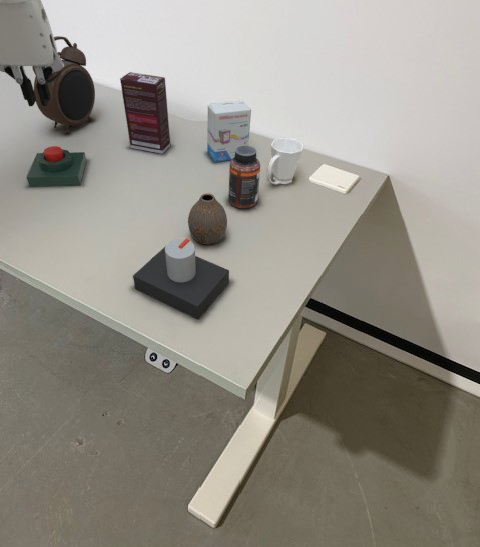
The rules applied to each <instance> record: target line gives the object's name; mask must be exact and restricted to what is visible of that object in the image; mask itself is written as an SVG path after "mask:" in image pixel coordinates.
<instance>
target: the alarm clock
mask: <svg viewBox="0 0 480 547" xmlns="http://www.w3.org/2000/svg"><path fill="white" fill-rule="evenodd" d="M54 40H55V42H56V41H59V40H61V41H62V40H63V41H64V43H65V44H66V46H65V47H63V48H62V49H61V51H57V54H58V55H59V57H60V58H61V60H62V62H63V63H64V66H63V69H61V70H59V71H57V72H54V73H52V74H51V75H50V76H49V78H48V79H47V84H48V88H49V92H50V96H51V99H50V100H49V101H48V104H47V106H43V105H42V104H41V101H40V97H39V94H38V90H37V87H36V85H37V83H38V82H37V75H36V71H35V68H34V66H31V68H32V72H33V73H34V75H35V78H34V80H33V81H34V82H33V90H34V93H35V97H36V101H35V104H36V106H37V108H38V110H39V112H41V114H42V115H43V116H44V117H45V118H46V119H48V120H51V121H54V125H53V128H54V129H57V125H58V124H60V125H61V124H62V125H65V131H64V133H65V134H68V133H69V128H70V127H71V126H72V127H73V126H79V125H81V124H83V123H84V122H86V121H87V119H88V120H89V122H92V121H93V119H92V118H91V116H90V115H92V114H91V113H92V112H93V109H94V105H95V100H96V89H95V83H94V81H93V78H92V75H91V74H90V72H89V70H87V68H85V67H86V66H87V58H86V54H85V53H84V52H83V51H82V50H81V49H79V48H78V44H77V42H73V43H71V41H70V40H69V39H68V38H67V37H65V36H61V35H57V36H56V35H55V36H54Z"/></svg>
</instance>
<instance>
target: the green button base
mask: <svg viewBox="0 0 480 547" xmlns="http://www.w3.org/2000/svg"><path fill="white" fill-rule="evenodd" d="M62 151H63V155H64V158H63V159H62V160H59V161H47V160H46V158H45V155H44V151H42V152H36V154H35V156H34V159H33V161H32V163H31V166H30V169H29V170H28V173H27V175H26V177H25V178H26V180H27V183H28V186H29V187H30V188H32V187H34V188H35V187H36V188H37V187H62V186H63V187H64V186H81V184H82V181H83V180H82V179H83V175H84V172H85V168H86V164H87V156H86V153H85V151H77V152H76V151H71V152H70V151H69V150H68V149H64V148H62Z"/></svg>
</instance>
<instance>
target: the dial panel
mask: <svg viewBox="0 0 480 547" xmlns="http://www.w3.org/2000/svg"><path fill="white" fill-rule="evenodd" d="M165 247H166V245H165V246H164V247H162V248H161V249H160V250H159V251H158V252H157V253H156V254H155V255H154V256H153V257H152V258H150V260H148V261H147V262H146V263H145V264H144V265H143V266H142V267H140V269H138V271H136V272H135V273H134V274H133V275H132V279H133V285H134V289H135V290H136V291H139V292H141V293H142V294H144V295H146V296H149V297H151V298H153V299H155V300H157V301H159V302H162V303H163V304H165V305H168V306H169V307H171V308H173V309H176V310H178V311H180V312H182V313H184V314H185V315H188V316H190V317H192V318H194V319H196V320H200V318H201V317H202V316H203V315H204V313H205V312H206V311H207V310H208V309H209V308H210V306H211V305H212V304H213V303H214V302H215V300H217V298H218V297H219V295H221V293H223V291H224V290H225V289H226V288H227V286H228V285H229V282H230V270H229V269H228V268H225V267H222V266H220V265H218V264H215V263H213V262H211V261H209V260H206V259H204V258H202V257H199V256H197V255H195V265H196V274H195V276H194V278H193V279H191V280H190V281H187V282H181V283H180V282H175V281H172V280H171V279H170V278H169V277H168V274H167V265H166V256H165Z"/></svg>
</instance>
